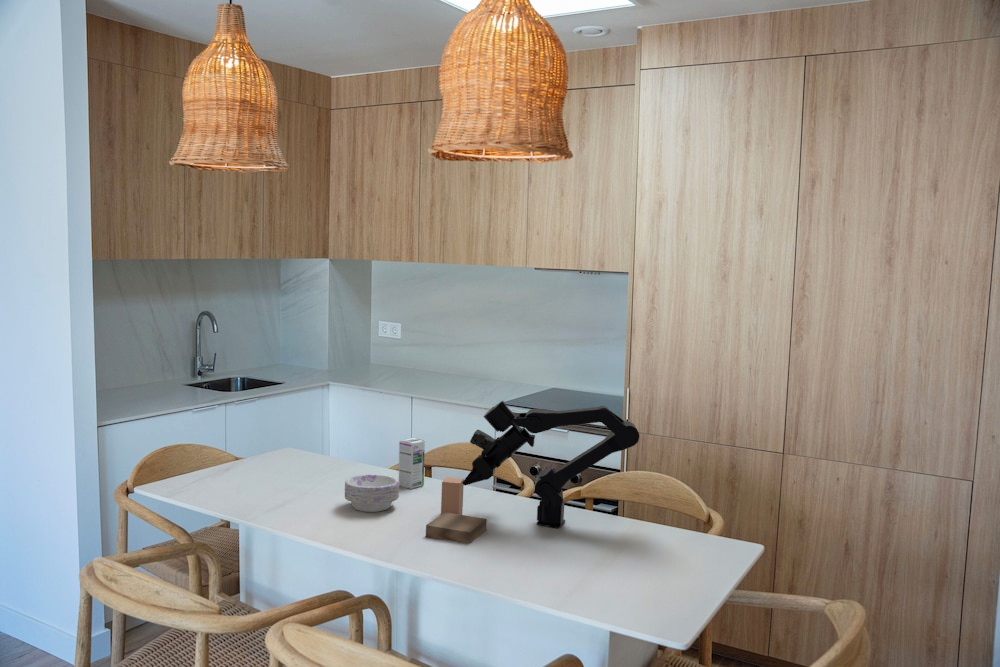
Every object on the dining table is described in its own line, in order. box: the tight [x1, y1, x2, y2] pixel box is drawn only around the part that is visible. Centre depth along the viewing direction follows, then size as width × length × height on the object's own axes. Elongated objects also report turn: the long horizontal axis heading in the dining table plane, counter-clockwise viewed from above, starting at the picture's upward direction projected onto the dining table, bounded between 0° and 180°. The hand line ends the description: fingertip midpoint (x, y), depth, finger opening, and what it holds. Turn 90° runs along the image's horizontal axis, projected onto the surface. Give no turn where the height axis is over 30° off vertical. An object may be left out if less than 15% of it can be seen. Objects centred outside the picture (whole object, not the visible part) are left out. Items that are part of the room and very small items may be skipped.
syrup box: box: [398, 437, 426, 490], centre depth 253 cm, size 6×6×14 cm
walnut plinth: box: [425, 512, 488, 545], centre depth 212 cm, size 12×12×3 cm
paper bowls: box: [344, 474, 400, 513], centre depth 230 cm, size 15×15×8 cm
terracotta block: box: [440, 476, 465, 515], centre depth 226 cm, size 5×5×10 cm
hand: (467, 479), depth 225 cm, fingers open, 9 cm apart
